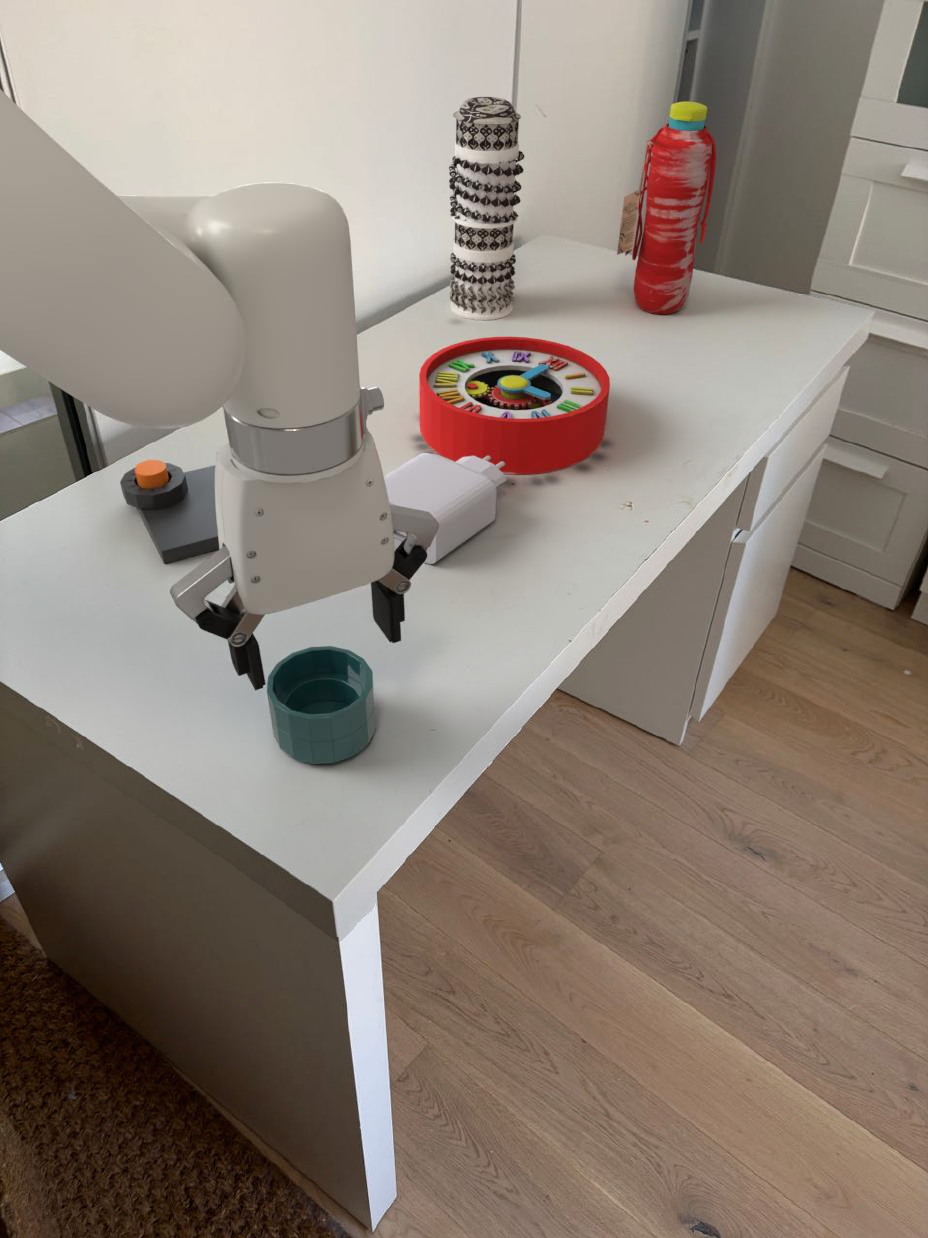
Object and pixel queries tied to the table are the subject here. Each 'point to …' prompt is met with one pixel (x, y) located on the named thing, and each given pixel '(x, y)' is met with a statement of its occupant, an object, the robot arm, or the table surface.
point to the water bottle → (670, 209)
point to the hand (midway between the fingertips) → (322, 652)
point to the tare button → (151, 474)
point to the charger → (447, 496)
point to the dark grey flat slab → (177, 511)
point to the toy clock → (513, 403)
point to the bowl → (321, 704)
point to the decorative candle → (484, 207)
